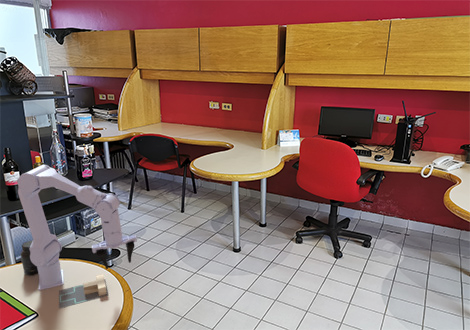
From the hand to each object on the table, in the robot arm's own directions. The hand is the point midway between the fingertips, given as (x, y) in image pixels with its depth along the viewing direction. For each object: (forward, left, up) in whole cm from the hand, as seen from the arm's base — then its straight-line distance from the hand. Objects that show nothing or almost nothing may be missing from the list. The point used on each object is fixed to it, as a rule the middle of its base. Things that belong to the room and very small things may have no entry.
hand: (118, 264), depth 122 cm
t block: (-2, -8, -10) cm, 13 cm away
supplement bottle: (-24, -28, -10) cm, 39 cm away
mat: (-2, -12, -10) cm, 16 cm away
